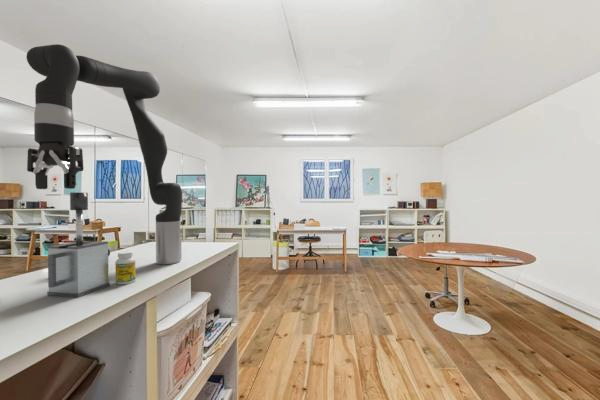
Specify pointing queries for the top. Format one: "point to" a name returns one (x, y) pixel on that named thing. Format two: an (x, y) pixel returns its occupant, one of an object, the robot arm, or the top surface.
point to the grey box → (77, 268)
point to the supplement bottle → (125, 268)
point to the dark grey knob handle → (79, 212)
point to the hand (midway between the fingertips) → (55, 188)
